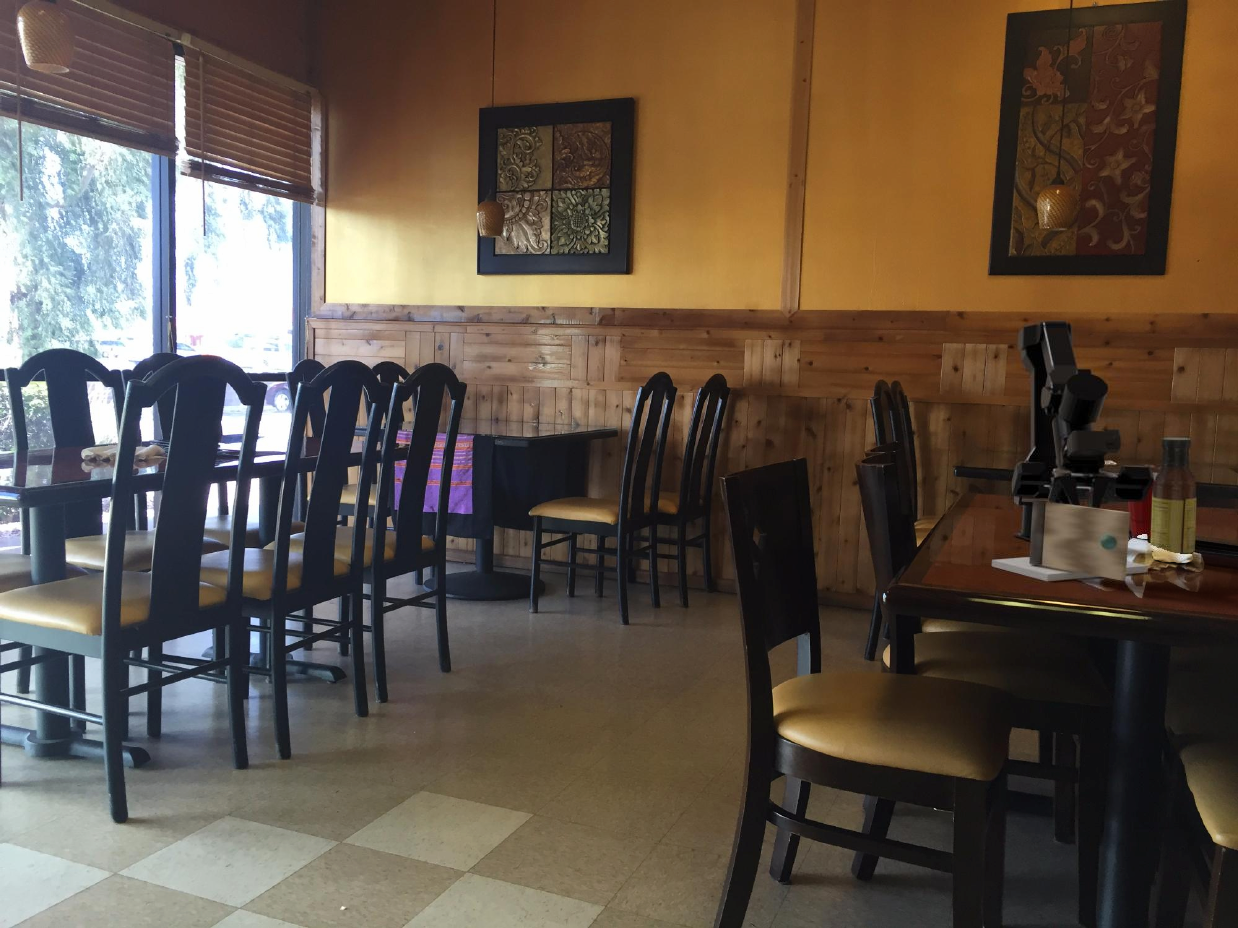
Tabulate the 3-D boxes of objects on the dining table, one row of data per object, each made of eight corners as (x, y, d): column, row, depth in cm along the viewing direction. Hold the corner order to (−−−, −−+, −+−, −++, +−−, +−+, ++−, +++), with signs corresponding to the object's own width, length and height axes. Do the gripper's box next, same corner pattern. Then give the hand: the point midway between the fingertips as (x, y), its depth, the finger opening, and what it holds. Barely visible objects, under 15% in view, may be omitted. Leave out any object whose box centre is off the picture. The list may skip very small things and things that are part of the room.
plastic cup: (1185, 546, 172) (1190, 478, 171) (1116, 539, 178) (1120, 473, 176) (1185, 537, 181) (1190, 472, 180) (1120, 531, 187) (1124, 468, 186)
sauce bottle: (1182, 557, 161) (1191, 437, 159) (1201, 565, 155) (1210, 440, 153) (1140, 556, 162) (1149, 436, 160) (1157, 564, 156) (1166, 439, 154)
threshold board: (1047, 581, 142) (1047, 574, 142) (991, 566, 152) (992, 559, 152) (1147, 572, 149) (1147, 565, 149) (1088, 558, 159) (1088, 552, 159)
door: (1020, 564, 147) (1024, 501, 146) (1034, 561, 149) (1037, 499, 148) (1114, 582, 136) (1118, 514, 135) (1127, 579, 138) (1132, 512, 137)
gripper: (1019, 408, 148) (1028, 491, 138) (1155, 411, 144) (1173, 497, 134) (1008, 455, 156) (1015, 535, 147) (1135, 459, 152) (1151, 543, 143)
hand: (1087, 527), depth 143 cm, fingers closed
